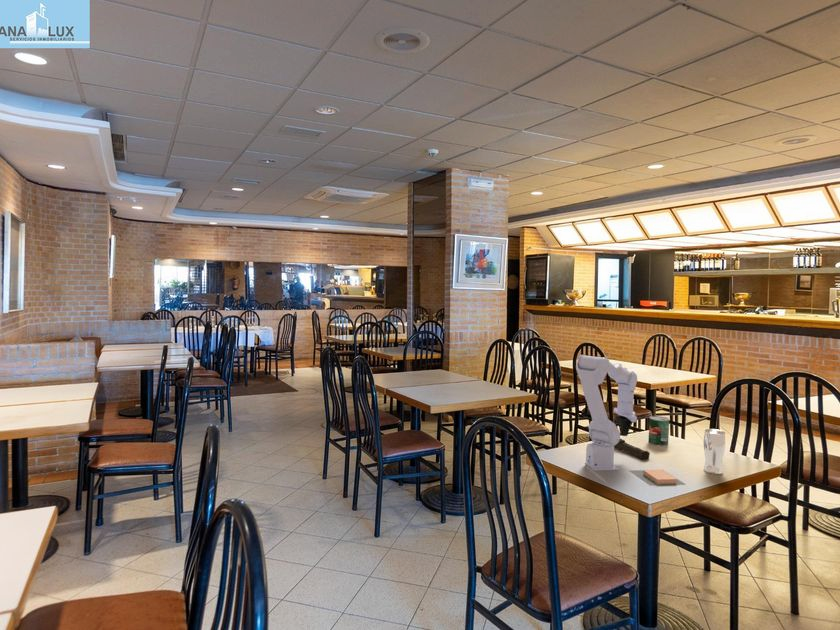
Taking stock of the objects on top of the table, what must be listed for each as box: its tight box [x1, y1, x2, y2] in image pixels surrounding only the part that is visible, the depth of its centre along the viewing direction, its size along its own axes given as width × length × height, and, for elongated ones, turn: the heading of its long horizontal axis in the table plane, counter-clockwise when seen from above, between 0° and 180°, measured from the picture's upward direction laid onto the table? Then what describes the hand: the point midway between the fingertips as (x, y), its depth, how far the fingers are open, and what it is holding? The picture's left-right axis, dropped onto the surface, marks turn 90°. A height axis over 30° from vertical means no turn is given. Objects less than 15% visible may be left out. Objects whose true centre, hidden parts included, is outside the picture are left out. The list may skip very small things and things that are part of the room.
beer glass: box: [703, 428, 726, 475], centre depth 189 cm, size 7×7×15 cm
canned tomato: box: [648, 415, 670, 447], centre depth 223 cm, size 8×8×11 cm
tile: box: [642, 469, 678, 484], centre depth 180 cm, size 7×2×9 cm
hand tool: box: [614, 438, 651, 461], centre depth 210 cm, size 19×4×5 cm, turn 17°
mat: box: [629, 469, 687, 486], centre depth 182 cm, size 13×14×1 cm
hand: (624, 435), depth 201 cm, fingers closed
